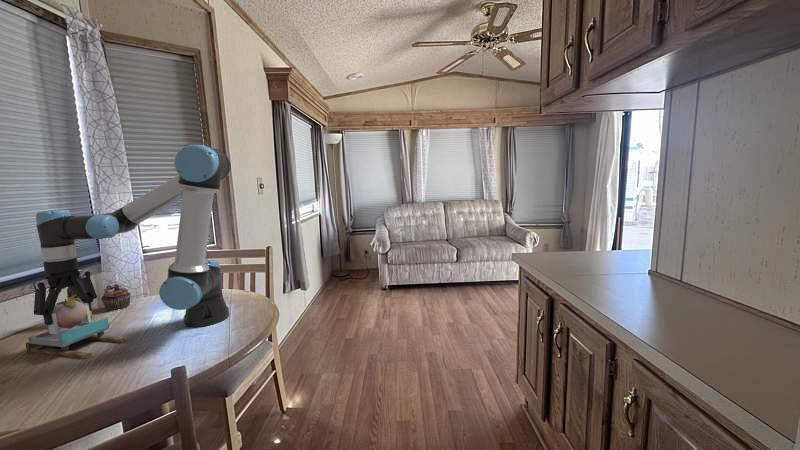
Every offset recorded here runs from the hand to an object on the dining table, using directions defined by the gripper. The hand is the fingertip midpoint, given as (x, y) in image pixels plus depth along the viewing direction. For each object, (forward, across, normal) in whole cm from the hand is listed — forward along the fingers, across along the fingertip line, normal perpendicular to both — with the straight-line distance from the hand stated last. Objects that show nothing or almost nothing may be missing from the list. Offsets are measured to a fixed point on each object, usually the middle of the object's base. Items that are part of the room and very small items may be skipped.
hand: (71, 327), depth 106 cm
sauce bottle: (+6, -16, -21) cm, 27 cm away
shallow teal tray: (+5, 0, -1) cm, 5 cm away
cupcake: (+6, -30, -22) cm, 38 cm away
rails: (+6, 0, +2) cm, 7 cm away
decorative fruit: (0, 0, 0) cm, 0 cm away
